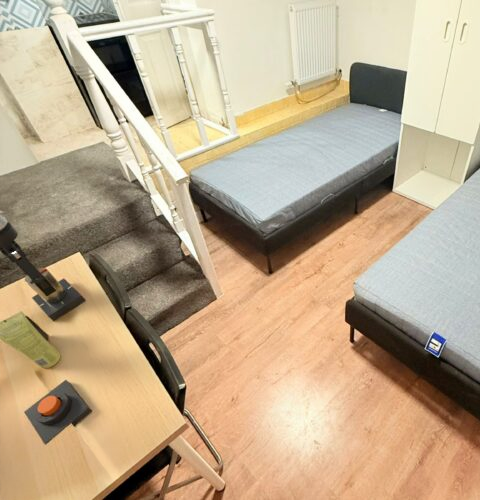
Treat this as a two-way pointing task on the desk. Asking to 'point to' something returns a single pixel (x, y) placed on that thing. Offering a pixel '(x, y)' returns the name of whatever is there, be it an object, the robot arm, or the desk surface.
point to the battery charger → (38, 329)
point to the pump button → (49, 405)
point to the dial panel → (61, 302)
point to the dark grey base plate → (58, 412)
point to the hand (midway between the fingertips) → (41, 282)
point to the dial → (60, 290)
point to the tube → (28, 340)
